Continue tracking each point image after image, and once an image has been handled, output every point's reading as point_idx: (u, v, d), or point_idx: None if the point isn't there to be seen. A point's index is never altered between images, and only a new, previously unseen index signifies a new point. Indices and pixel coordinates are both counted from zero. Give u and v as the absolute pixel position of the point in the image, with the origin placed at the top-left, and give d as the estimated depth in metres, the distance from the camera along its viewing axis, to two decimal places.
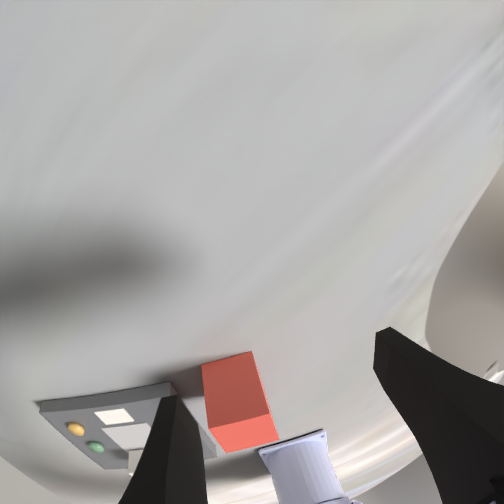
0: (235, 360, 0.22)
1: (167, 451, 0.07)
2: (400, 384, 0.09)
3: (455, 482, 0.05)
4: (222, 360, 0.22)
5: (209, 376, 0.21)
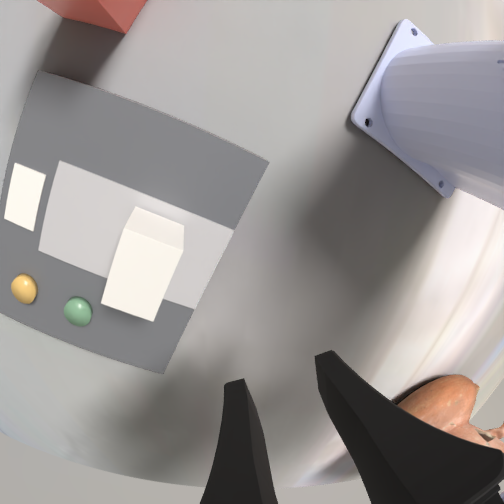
0: None
1: (248, 435, 0.07)
2: (337, 412, 0.08)
3: None
4: None
5: None
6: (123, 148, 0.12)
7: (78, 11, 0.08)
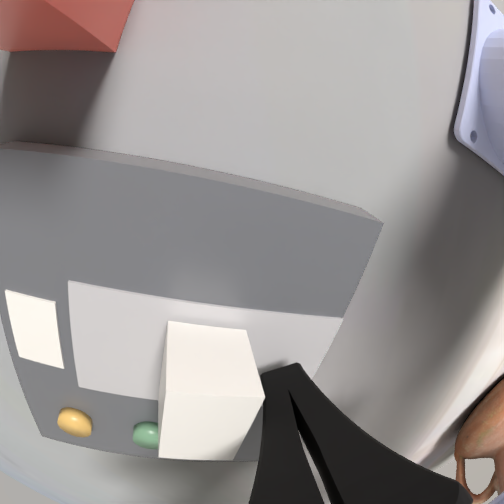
0: None
1: (294, 422, 0.07)
2: (300, 425, 0.08)
3: None
4: None
5: None
6: (164, 248, 0.08)
7: (22, 35, 0.04)
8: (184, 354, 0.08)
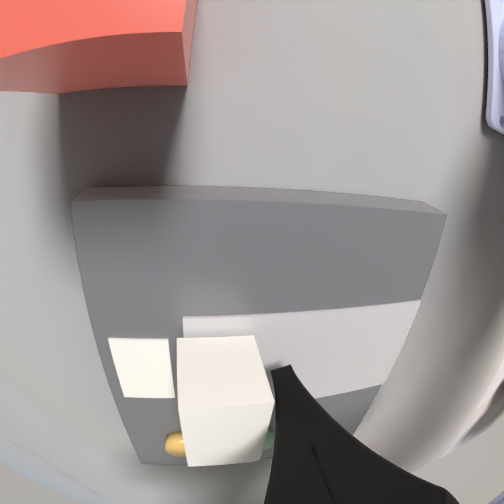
0: None
1: (307, 418, 0.07)
2: None
3: None
4: None
5: None
6: (278, 270, 0.09)
7: (98, 78, 0.05)
8: (193, 369, 0.08)
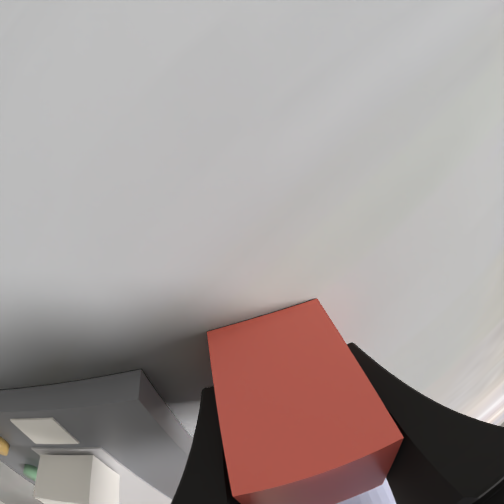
0: (284, 319, 0.10)
1: (220, 442, 0.07)
2: None
3: None
4: (254, 321, 0.10)
5: (227, 356, 0.09)
6: (157, 468, 0.12)
7: None
8: (96, 483, 0.09)
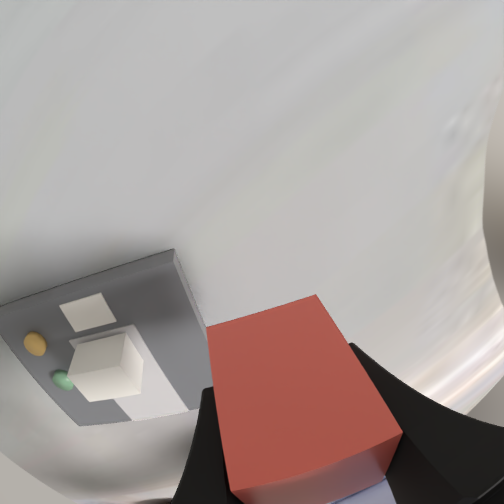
0: (283, 314, 0.10)
1: (220, 442, 0.07)
2: None
3: None
4: (253, 316, 0.10)
5: (225, 351, 0.09)
6: (175, 350, 0.18)
7: None
8: (127, 354, 0.15)
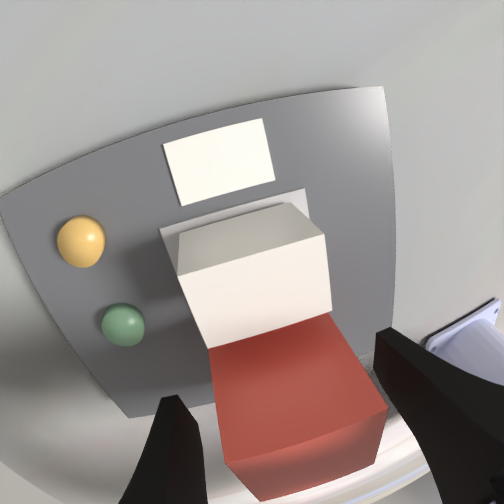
0: None
1: (167, 451, 0.07)
2: (400, 384, 0.09)
3: (455, 482, 0.05)
4: None
5: None
6: (352, 248, 0.11)
7: None
8: None
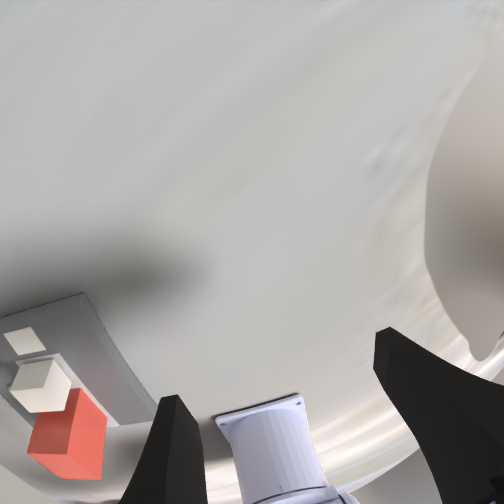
0: None
1: (167, 451, 0.07)
2: (400, 384, 0.09)
3: (455, 482, 0.05)
4: None
5: None
6: (96, 376, 0.18)
7: None
8: (52, 377, 0.16)
